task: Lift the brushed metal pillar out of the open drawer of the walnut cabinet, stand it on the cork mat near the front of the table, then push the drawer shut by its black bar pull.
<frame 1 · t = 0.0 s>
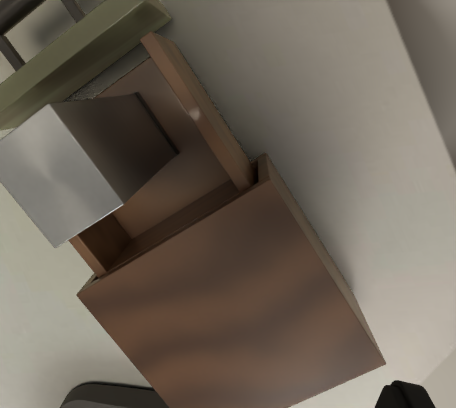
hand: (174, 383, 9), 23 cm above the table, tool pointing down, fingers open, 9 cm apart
drawer: (109, 119, 26), point 4 cm above the table, slide at 11.5 cm, touching brushed metal pillar
cabinet: (236, 268, 33), on the table
brushed metal pillar: (136, 138, 28), point 2 cm above the table, touching drawer
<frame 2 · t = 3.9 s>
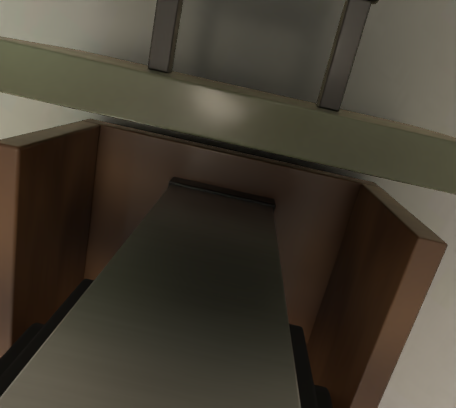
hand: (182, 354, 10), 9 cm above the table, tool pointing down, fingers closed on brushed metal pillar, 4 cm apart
drawer: (215, 223, 13), point 4 cm above the table, slide at 11.5 cm, touching brushed metal pillar
brushed metal pillar: (211, 245, 16), point 2 cm above the table, touching drawer, gripper
when the fingers open (7 cm above the table, at t = 11.5 s): brushed metal pillar stays where it is, resting on cork mat.
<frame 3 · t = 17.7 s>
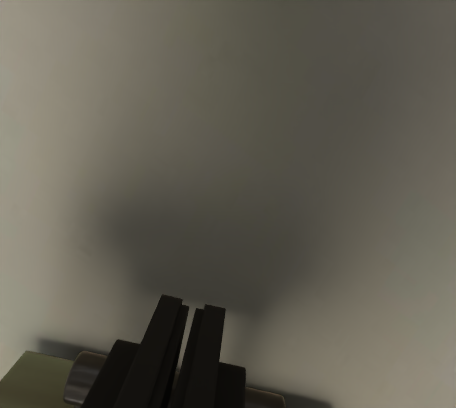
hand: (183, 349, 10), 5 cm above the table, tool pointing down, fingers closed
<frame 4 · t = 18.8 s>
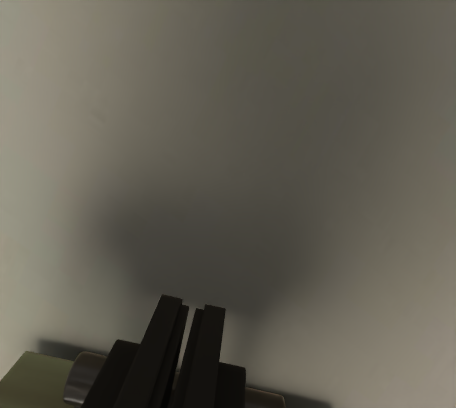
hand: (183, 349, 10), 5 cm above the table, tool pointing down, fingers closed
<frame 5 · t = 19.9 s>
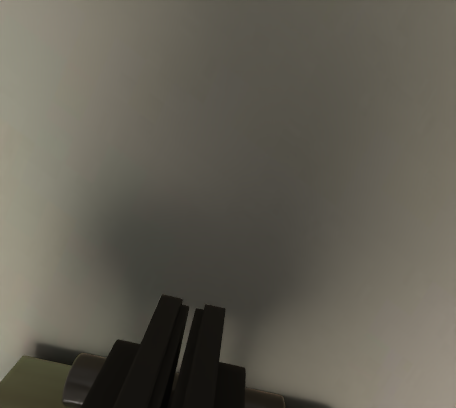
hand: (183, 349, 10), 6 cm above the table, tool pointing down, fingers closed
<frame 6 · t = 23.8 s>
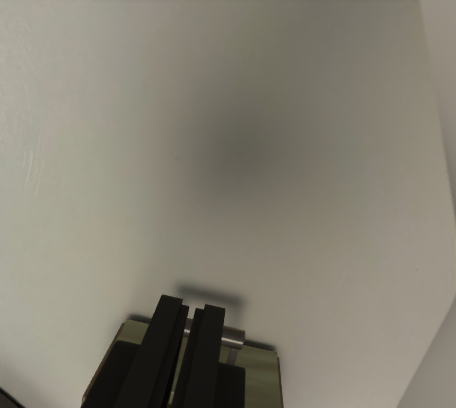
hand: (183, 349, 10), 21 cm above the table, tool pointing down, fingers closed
drawer: (186, 406, 32), point 4 cm above the table, slide at 0.0 cm, touching cabinet
cabinet: (186, 401, 37), on the table
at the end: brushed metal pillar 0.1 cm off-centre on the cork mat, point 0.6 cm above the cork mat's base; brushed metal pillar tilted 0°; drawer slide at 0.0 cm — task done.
